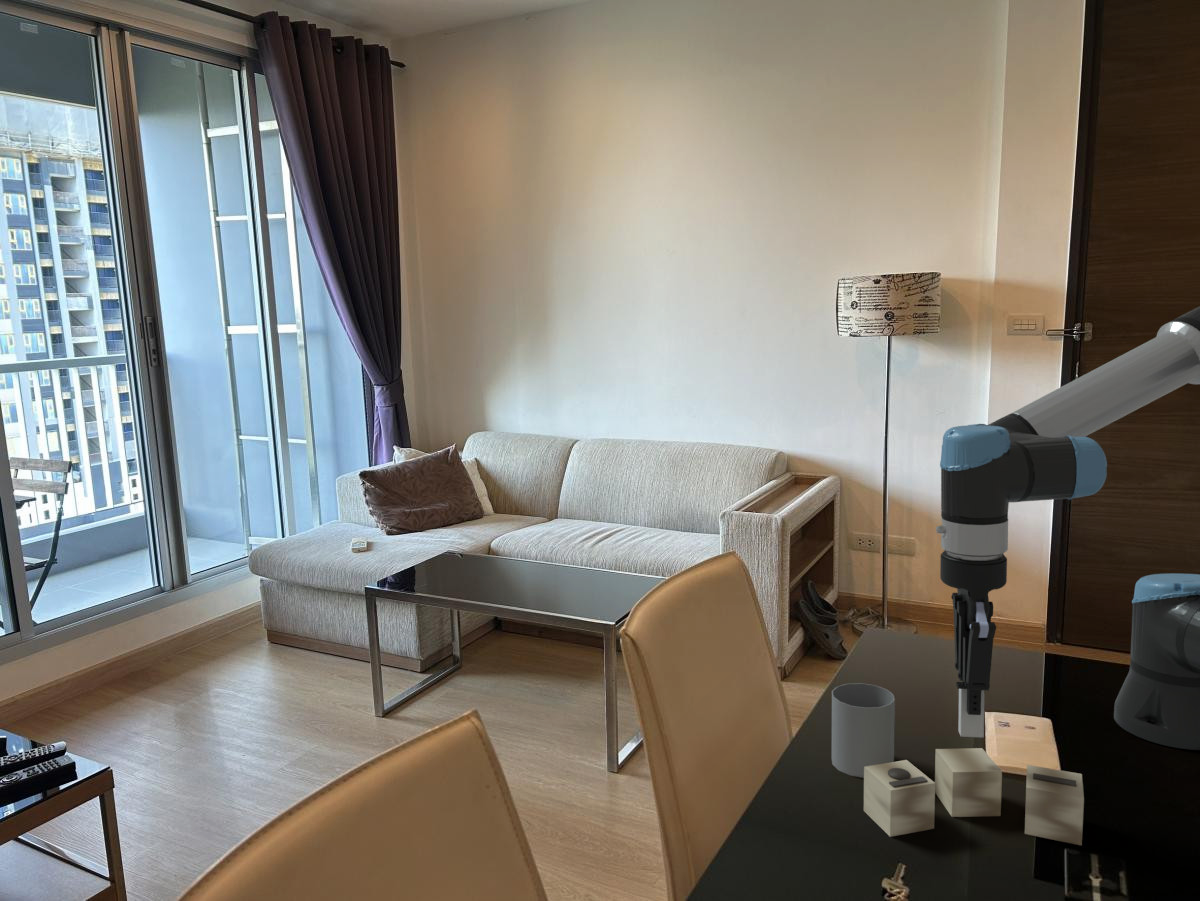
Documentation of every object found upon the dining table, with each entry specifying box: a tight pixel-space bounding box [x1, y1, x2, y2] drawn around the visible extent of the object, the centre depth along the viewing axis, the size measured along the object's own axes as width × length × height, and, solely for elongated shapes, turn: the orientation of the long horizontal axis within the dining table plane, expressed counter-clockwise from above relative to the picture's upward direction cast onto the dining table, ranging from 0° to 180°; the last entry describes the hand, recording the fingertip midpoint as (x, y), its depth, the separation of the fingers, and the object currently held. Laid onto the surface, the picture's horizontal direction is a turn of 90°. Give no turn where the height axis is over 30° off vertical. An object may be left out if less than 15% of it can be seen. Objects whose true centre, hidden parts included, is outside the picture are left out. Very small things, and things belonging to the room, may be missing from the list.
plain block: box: [934, 747, 1003, 818], centre depth 112 cm, size 6×6×6 cm
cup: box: [831, 682, 896, 779], centre depth 123 cm, size 8×8×10 cm
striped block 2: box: [1024, 764, 1085, 846], centre depth 106 cm, size 6×6×6 cm
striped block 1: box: [863, 759, 936, 838], centre depth 109 cm, size 6×6×6 cm
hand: (970, 734), depth 111 cm, fingers closed
